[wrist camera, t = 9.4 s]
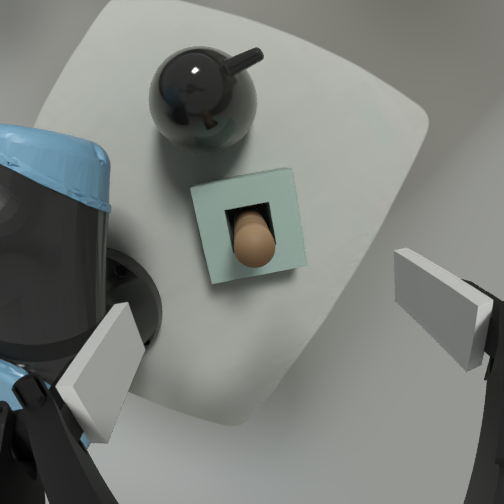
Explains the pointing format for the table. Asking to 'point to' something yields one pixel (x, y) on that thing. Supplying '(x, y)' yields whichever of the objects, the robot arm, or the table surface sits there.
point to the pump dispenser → (204, 98)
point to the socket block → (244, 194)
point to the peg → (252, 238)
